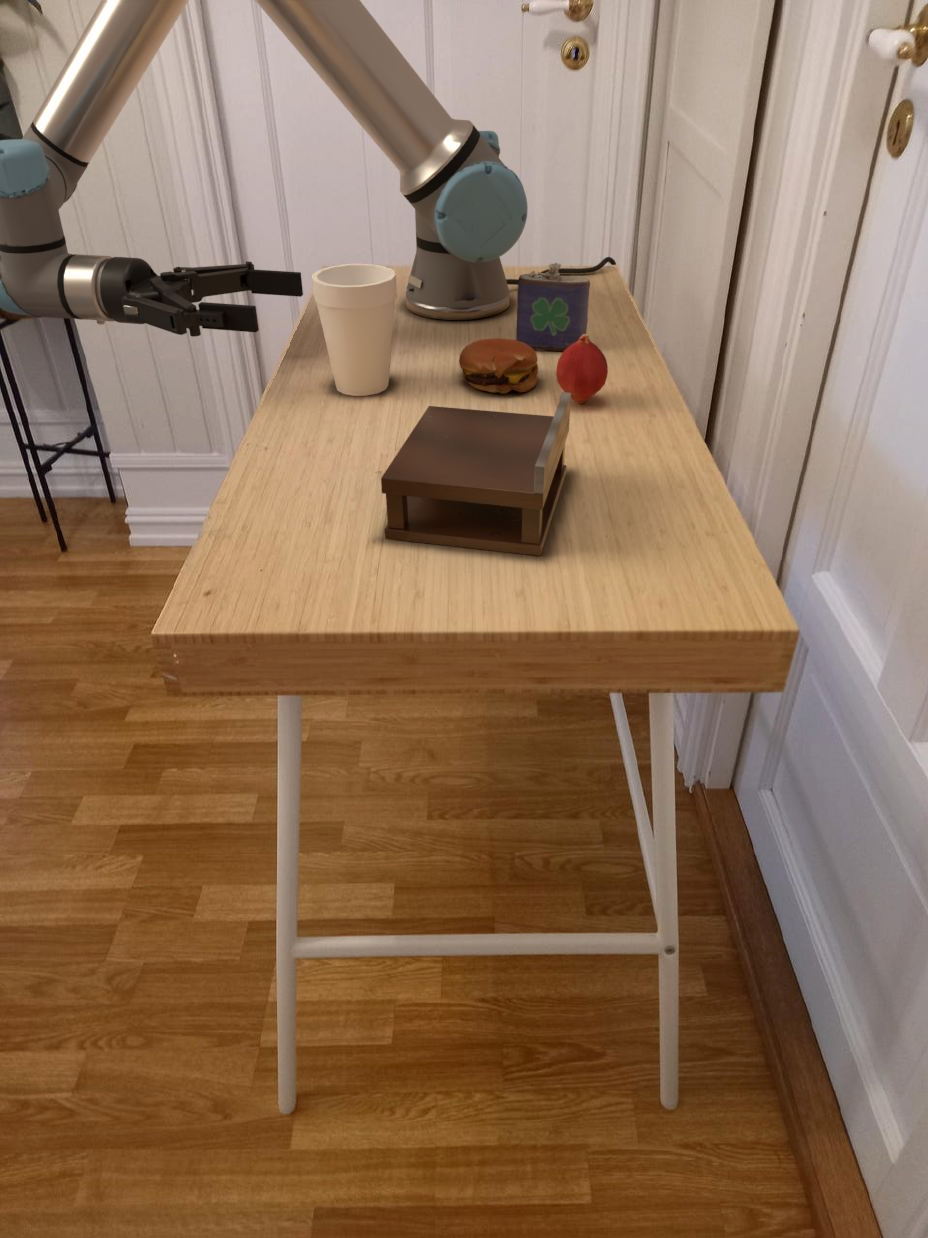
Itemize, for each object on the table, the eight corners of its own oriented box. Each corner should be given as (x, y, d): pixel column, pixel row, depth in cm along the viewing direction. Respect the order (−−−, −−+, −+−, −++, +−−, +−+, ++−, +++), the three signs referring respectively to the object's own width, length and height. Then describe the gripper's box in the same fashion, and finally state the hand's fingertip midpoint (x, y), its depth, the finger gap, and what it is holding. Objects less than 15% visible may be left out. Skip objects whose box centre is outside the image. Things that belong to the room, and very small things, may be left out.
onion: (548, 394, 110) (551, 327, 105) (595, 390, 111) (600, 323, 106) (563, 414, 105) (567, 344, 100) (611, 409, 106) (617, 340, 101)
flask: (586, 346, 123) (592, 261, 117) (584, 353, 121) (589, 268, 115) (517, 341, 125) (519, 258, 119) (513, 349, 122) (515, 264, 116)
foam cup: (388, 403, 108) (382, 289, 100) (312, 398, 109) (300, 284, 102) (409, 373, 115) (404, 265, 108) (337, 369, 117) (327, 261, 109)
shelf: (430, 460, 96) (427, 381, 91) (566, 473, 93) (571, 392, 88) (384, 538, 83) (378, 450, 78) (540, 556, 80) (544, 466, 75)
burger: (486, 362, 118) (486, 325, 116) (551, 376, 114) (553, 339, 112) (443, 388, 112) (443, 349, 109) (511, 404, 108) (512, 365, 105)
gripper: (169, 291, 125) (319, 301, 121) (64, 355, 105) (239, 370, 101) (158, 232, 120) (314, 240, 116) (46, 287, 100) (228, 299, 97)
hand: (279, 300), depth 109 cm, fingers open, 13 cm apart
